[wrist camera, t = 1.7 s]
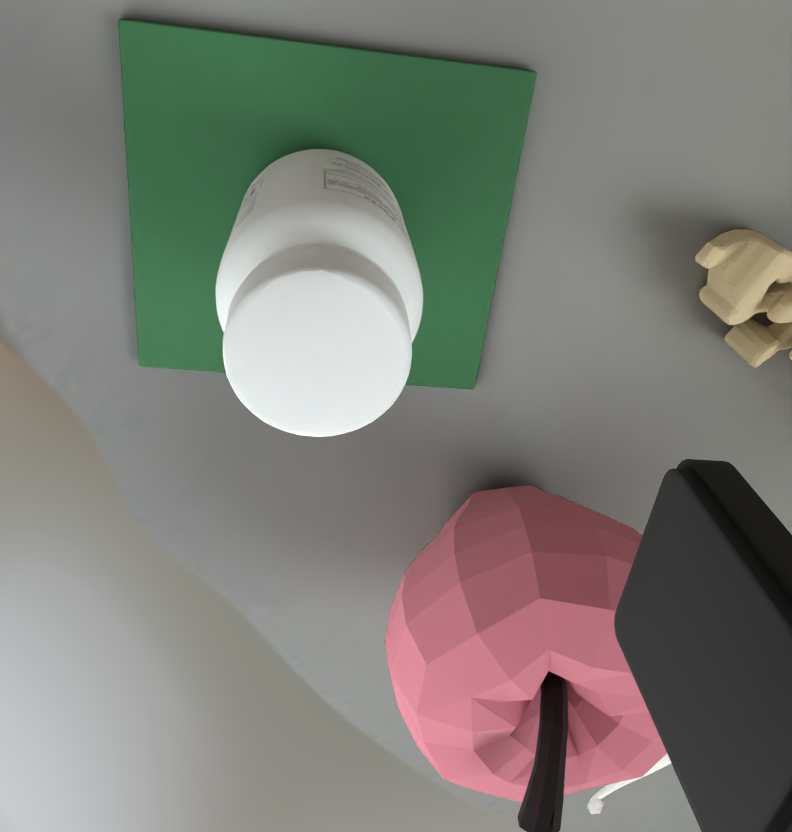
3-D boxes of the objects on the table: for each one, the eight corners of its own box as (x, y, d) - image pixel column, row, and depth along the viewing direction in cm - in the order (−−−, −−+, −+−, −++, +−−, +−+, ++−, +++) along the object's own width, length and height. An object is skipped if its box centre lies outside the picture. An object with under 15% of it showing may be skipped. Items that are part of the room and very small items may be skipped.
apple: (632, 593, 28) (764, 861, 20) (412, 644, 29) (449, 927, 20) (610, 380, 24) (771, 614, 15) (345, 447, 24) (355, 710, 15)
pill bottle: (274, 326, 21) (250, 486, 15) (212, 176, 19) (151, 285, 12) (421, 281, 21) (464, 424, 14) (376, 123, 19) (403, 207, 12)
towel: (140, 362, 22) (138, 366, 22) (120, 18, 17) (117, 18, 17) (472, 385, 23) (474, 390, 23) (534, 70, 19) (537, 72, 18)
